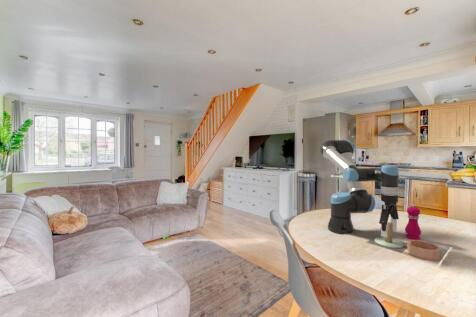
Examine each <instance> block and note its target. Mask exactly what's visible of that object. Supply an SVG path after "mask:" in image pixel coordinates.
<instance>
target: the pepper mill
mask: <svg viewBox="0 0 476 317" xmlns="http://www.w3.org/2000/svg"><path fill="white" fill-rule="evenodd" d="M406 213H407V218H408V222H407V224H406V226H405V229H404V232H405V233H406V234H405V237H406V238H407V239H409V240H421V236H420V235H422V230H421V228H420V226H419V222H418V221H419V219H420V215H421V210H420V208H418V207H416V204H414V203H413V204H411V206H409V207H407V209H406Z"/></svg>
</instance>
